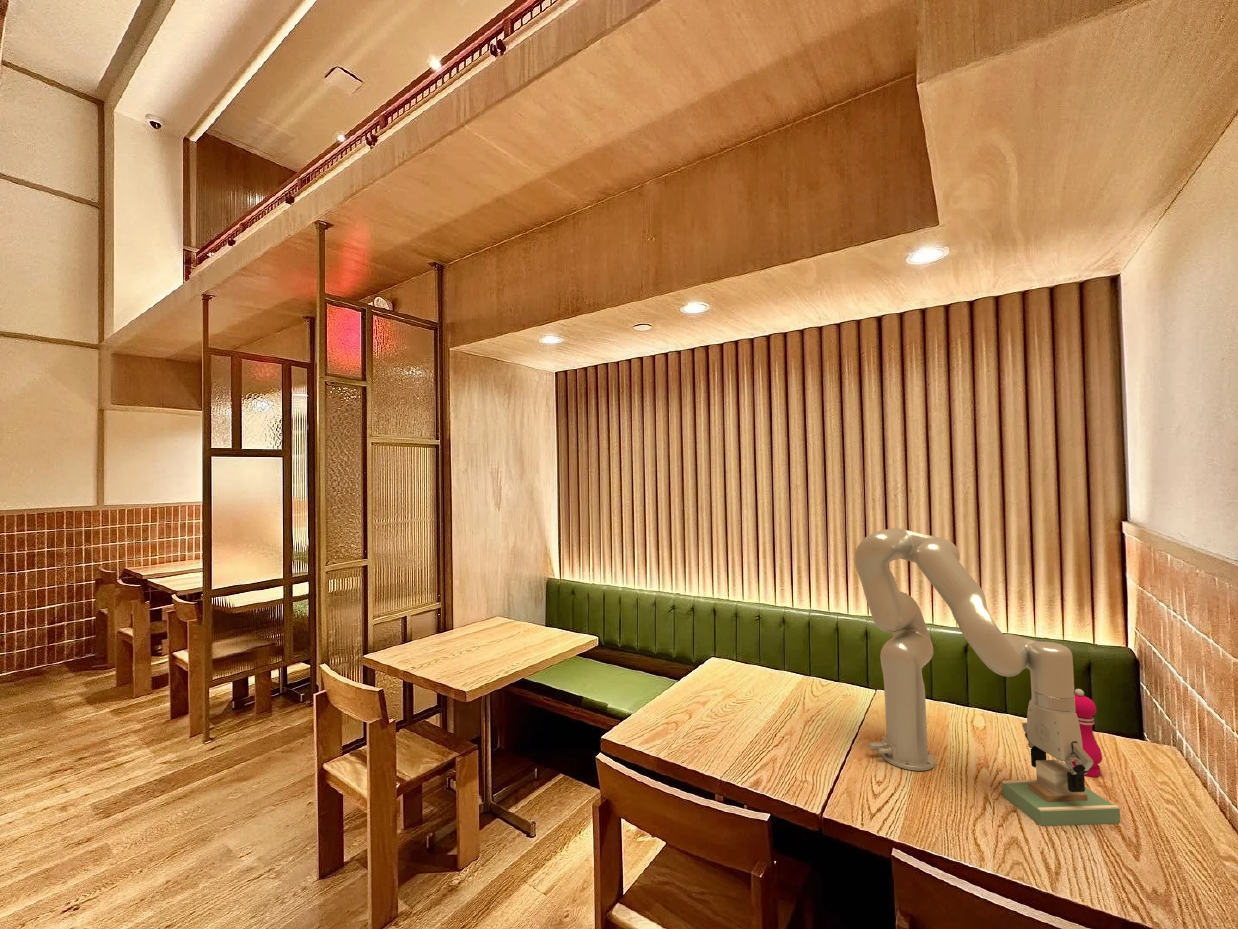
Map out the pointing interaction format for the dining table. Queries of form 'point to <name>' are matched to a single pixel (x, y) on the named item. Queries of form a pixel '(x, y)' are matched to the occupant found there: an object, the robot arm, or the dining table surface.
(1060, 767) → the butter dish
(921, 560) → the robot arm
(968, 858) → the dining table surface
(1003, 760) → the dining table surface
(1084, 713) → the pepper mill
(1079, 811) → the dock
